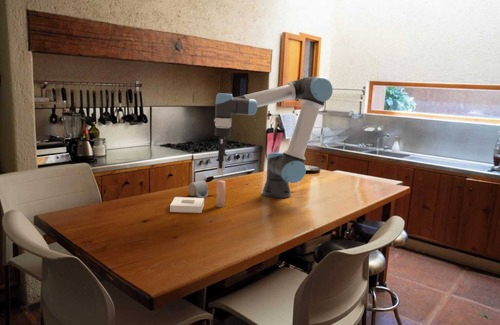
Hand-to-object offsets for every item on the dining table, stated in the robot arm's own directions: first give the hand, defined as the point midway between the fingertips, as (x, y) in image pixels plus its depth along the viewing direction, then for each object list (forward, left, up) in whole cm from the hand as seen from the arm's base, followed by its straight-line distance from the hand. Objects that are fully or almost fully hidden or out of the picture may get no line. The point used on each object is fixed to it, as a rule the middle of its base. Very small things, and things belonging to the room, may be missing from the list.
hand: (221, 172), depth 193 cm
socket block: (+15, +5, -17) cm, 23 cm away
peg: (0, 0, -17) cm, 17 cm away
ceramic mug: (+11, -17, -17) cm, 26 cm away
